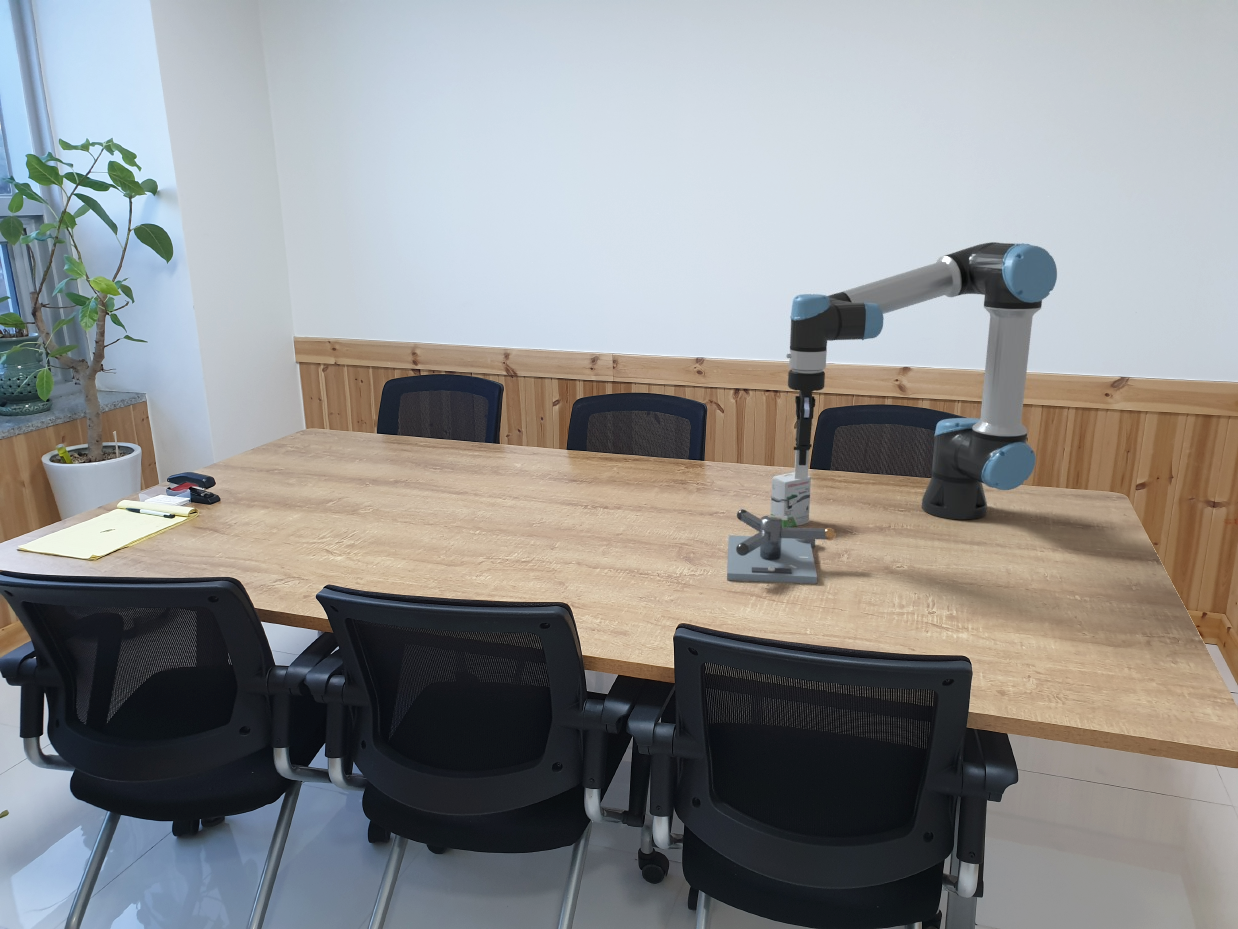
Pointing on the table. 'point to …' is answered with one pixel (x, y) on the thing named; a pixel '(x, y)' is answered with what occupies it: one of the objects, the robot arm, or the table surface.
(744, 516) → the capstan
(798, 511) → the ink box
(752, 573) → the stand
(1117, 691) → the table surface
